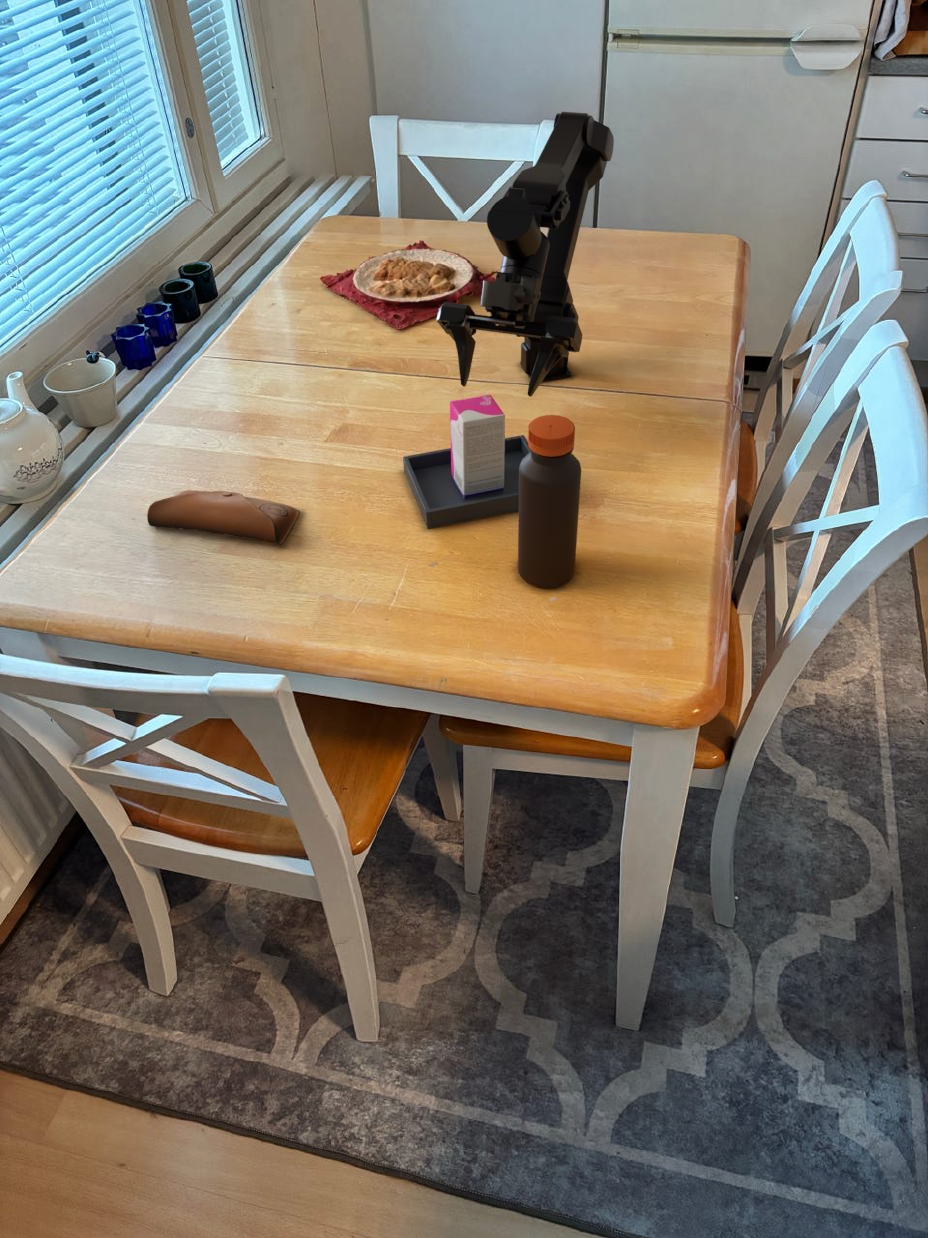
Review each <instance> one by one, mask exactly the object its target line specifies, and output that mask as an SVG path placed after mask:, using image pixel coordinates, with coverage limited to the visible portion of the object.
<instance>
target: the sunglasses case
mask: <svg viewBox="0 0 928 1238" xmlns="http://www.w3.org/2000/svg"><path fill="white" fill-rule="evenodd" d="M300 514H301V512H300V510H299V509H298V508H296V507H293V506H291V505H288V504H284V503H281V502H277V501H271V500H267V499H262V498H257V497H250V496H244V495H243V494H242V493H240V492H234V491H233V492H232V491H227V490H213V491H212V490H211V491H210V490H209V491H208V490H196V489H195V490H194V489H193V490H192V489H187V490H184V491H180V492H179V493H178V494H176V495H174V496H170V497H166V498H163V499H159V500H155V501H154V502H152V503H151V504H150V505H149V506H148V509H147V514H146V518H147V523H148V525H149V526H150V527H153V528H162V529H175V530H185V531H198V532H203V533H209V534H214V535H225V536H231V537H236V538H243V539H249V540H255V541H261V542H267V543H273V544H274V543H275V544H276V543H277V544H279V545H283V544H284V543H285V541H286V540H287V538H288V537H289V536H290V533H292V531H293V528H294V527H295V524H296V522H297V521H298V519H299V517H300Z"/></svg>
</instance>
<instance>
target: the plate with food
mask: <svg viewBox="0 0 928 1238" xmlns="http://www.w3.org/2000/svg"><path fill="white" fill-rule="evenodd" d="M497 272H499V271H497V270H496V271H494V270H493V271H491V272H490V273H484V272H482V271H479V266H476V265H474V264H472V261H470V260H469V259H468V258H467V257H465V256H464V255H461V254H459V253H457V252H453V251H450V250H449V251H448V250H446V249H436V248H433V247H431V246H429V245H427V243H425V241H424V240H421V239H420V240H419V241H418V242H417V241H415V242H414V243H413V244H409V245H407V246H405V247H404V248H401V249H399V248H398V249H395V250H391V251H388V252H384V253H383V254H379V255H375V256H374V255H372V256H368V259H367V260H365V261H363V262H362V263H360V264H359V266H358V267H357V268H355V269H346V271H343V272H336V275H333V274H328V275H324V276H323V275H321V276H320V277H319V280H320V281H321V282H322V284H324V285H325V286H326V287H327V289H329V290H331V291H333V292H334V293H335V294H337V295H339V296H344V297H345V298H346V299H348V300H349V301H353V302H354V303H355V304H357V306H359V307H361V308H363V309H364V310H365V311H366V312H370V313H371V314H374V315H375V317H376V318H377V319H379V320H382V321H383V322H385V323H386V324H388V325H389V327H392V328H394V330H397V331H398V330H400V329H401V330H404V328H406V327H409V326H414V324H415V323H416V322H419V323H422V322H423V321H427V320H429V319H430V318H432V317H433V318H434V317H435V316H437V315H438V311H439V308H440V307H441V306H442V305H443V304H444V303H445V302H450V303H458V304H461V300H459V299H458V298H459V297H461V296H463V295H464V294H465V297H467V298H471V297H473V295H474V292H475V295H476V296H477V297H480V296H481V297H482V288H483V280H485V281H495V277H493V275H495V274H497ZM476 287H478V288H476ZM394 315H396V316H399V317H398V318H395V317H394Z"/></svg>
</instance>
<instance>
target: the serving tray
mask: <svg viewBox="0 0 928 1238" xmlns="http://www.w3.org/2000/svg"><path fill="white" fill-rule="evenodd" d="M529 453H530V451H529V445H528V439H527V438H526V436H525V434H521V435H516V436H510V437H505V454H504V490H503V491H500V492H496V493H491V494H486V495H481V496H476V497H472V498H467V499H464V498H463V497H462V495H461V493H460V491H459V490H458V488H457V486H456V484H455V482H454V481H453V479H452V476H451V447H450V448H442V449H438V450H433V451H432V450H431V451H427V452H422V453H416V454H411V455H404V456H402V462H403V463H402V464H403V473H404V476H405V478H406V481H407V483H408V485H409V489H410V491H411V492H412V495H413V497H414V500H415V503H416V505H417V507H418V509H419V512H420V514H421V517H422V519H423V522H424V525H425V527H426V530H429V529H434V528H440V527H444V526H449V525H454V524H460V523H465V522H470V521H475V520H480V519H486V518H491V517H497V516H501V515H506V514H510V513H511V514H512V513H516V512H519V466H520V464H521V461H522V459H523V458H524V457H525V456H526V455H527V454H529Z"/></svg>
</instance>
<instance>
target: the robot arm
mask: <svg viewBox="0 0 928 1238" xmlns="http://www.w3.org/2000/svg"><path fill="white" fill-rule="evenodd" d="M614 141H615V139H614V135H613V132H612V131H611V128H610V127H609V126H607V125H605V124H603V123H601V122H599V121H597V120H595V118H594V117H593V115H590V114H588V113H587V112H574V111H561V112H560V113H559V112H557V113H556V115H555V117H554V121H553V128H552V131H551V133H550V134H549V137H548V139H547V141H546V143H545V145H544V146H543V149H542V151H541V152H540V155H539V156H538V159H537V161H536V163H535V164H534V165H533V166H531V167H528V168H525V169H523V170H522V171H520V172H519V174H518V175H517V176H516V178H515V179H514V180H513V182H512V185H511V186H508V188H507V191H505V193H504V195H503V197H502V198H500V199H499V200H497V201H496V202H495V203H494V204H493V205H492V206H491V208H490V210H489V211H488V212H487V215H486V226H487V229H488V232H489V233H490V235H491V237H492V239H493V241H494V243H495V245H496V246H497V247H496V248H497V249H498V251H499V252H500V253H501V255H502V260H501V265H500V269H499V271H498V272H497V273H496V275H495V277H494V278H495V281H485V280H483V288H482V295H481V299H480V307H481V308H482V307H483V308H484V309H485V311H486V313H490V314H489V315H483V314H478V313H477V314H476V313H475V311H474V310H473V308H472V307H471V305H470V304H466V303H465V304H464V303H459V304H458V303H450V302H445V303H444V304H443V305H442V306H441V307H440V308H439V311H438V315H436V321H435V322H437V324H438V325H439V326H440V328H442V330H443V331H444V332H445V334H446V335H449V336H450V338H451V339H452V340H453V341H454V343H455V347H456V352H457V359H458V360H457V361H458V369H459V371H458V372H459V379H460V385H461V386H462V387H466V386H467V384H468V381H469V378H470V373H471V368H472V363H473V359H474V353H475V349H476V348H475V347H476V343H477V341H476V340H475V339H474V337H473V336H474V335H475V334H477V330H478V331H484V332H492V333H499V334H506V335H512V336H513V335H515V337H517V338H524V340H523V341H524V342H521V344H520V362H519V363H520V367H521V370H522V371H523V372H524V373H525V374H526V375H527V376H528V378H529V383H528V389H527V396H528V397H530V398H531V397H533V395H534V394H535V392H536V391H537V389H538V388H539V386H540V385H541V384H542V382H545V381H552V380H558V379H563V378H569V377H571V376H572V374H573V373H572V371H571V370H570V368H569V356H570V353H580V351H581V346H582V343H583V332H582V330H581V327H580V324H579V316H580V315H579V313H578V312H577V309H576V307H575V304H574V299H573V295H572V291H571V288H570V284H569V282H568V281H569V280H568V279H569V274H570V271H571V267H572V262H573V258H574V254H575V249H576V246H577V241H578V237H579V235H580V234H579V233H580V229H581V225H582V221H583V217H584V212H585V208H586V203H587V199H588V196H589V193H590V191H591V190H592V188H594V187H595V186H596V184H597V183H599V181H600V180H602V179H603V178H604V174H605V171H606V168H607V164H608V162H611V160H612V157H613V153H614V145H615V142H614ZM541 228H545V229H547V233H546V234H545V233H544V232H543V231H542V230H541Z"/></svg>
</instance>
